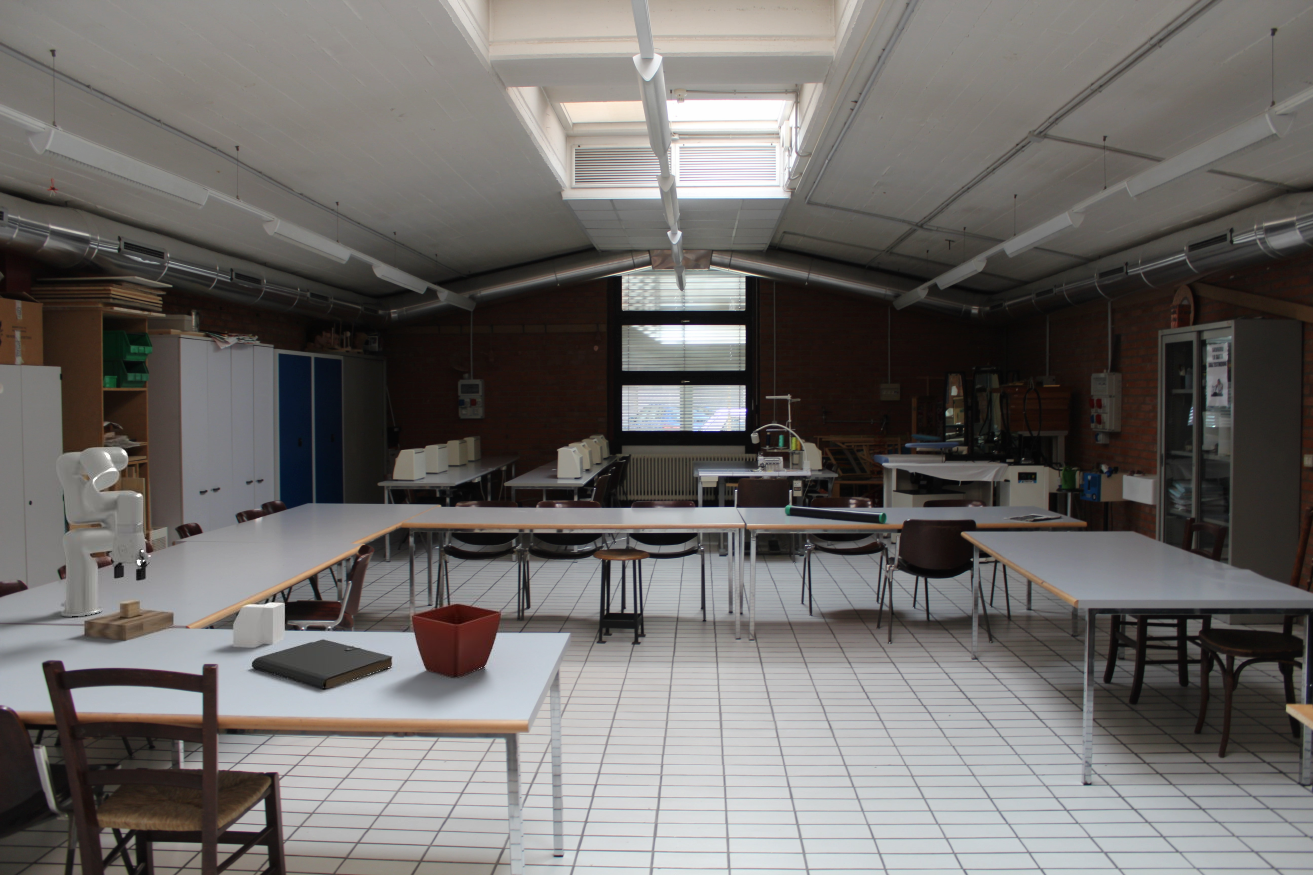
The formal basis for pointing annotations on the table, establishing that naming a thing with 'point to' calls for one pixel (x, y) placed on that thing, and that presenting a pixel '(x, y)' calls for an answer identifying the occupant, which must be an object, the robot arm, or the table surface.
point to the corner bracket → (259, 625)
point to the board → (128, 625)
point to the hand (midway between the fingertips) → (129, 578)
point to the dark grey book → (322, 663)
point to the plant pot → (455, 638)
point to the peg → (129, 609)
